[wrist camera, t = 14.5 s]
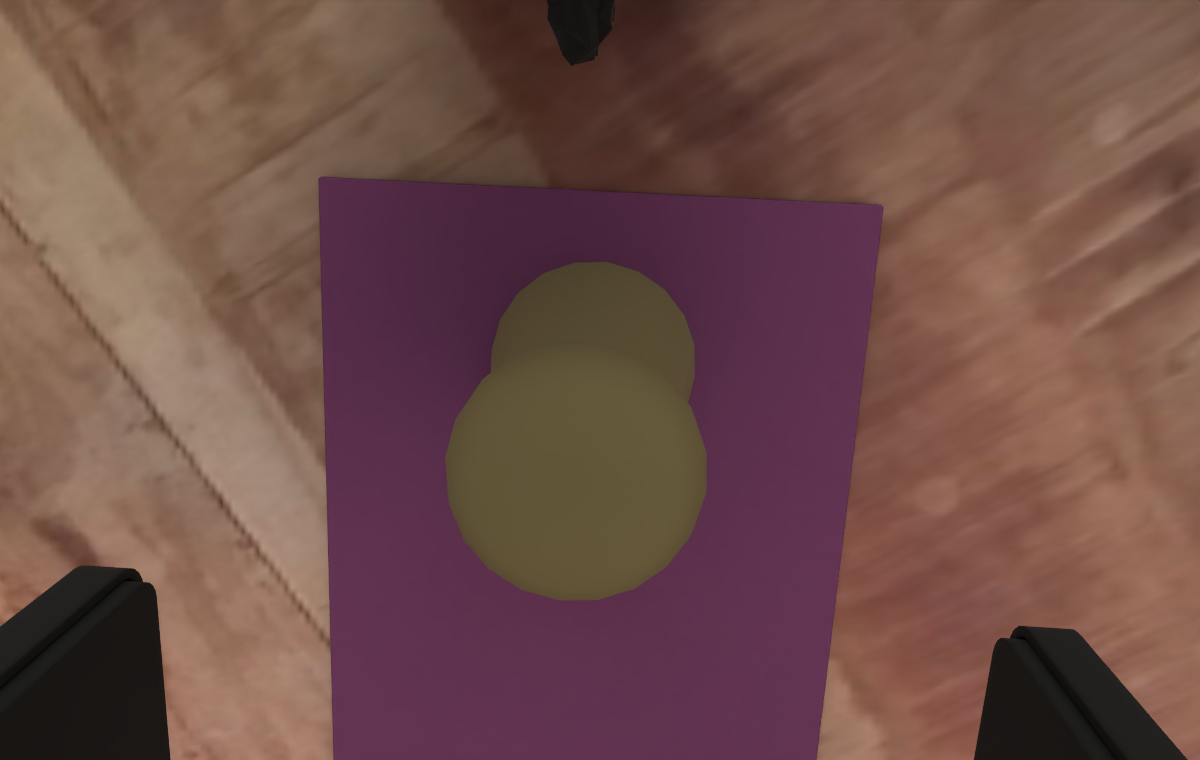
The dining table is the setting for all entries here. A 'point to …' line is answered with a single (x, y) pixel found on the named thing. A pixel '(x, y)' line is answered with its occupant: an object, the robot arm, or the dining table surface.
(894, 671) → the dining table surface
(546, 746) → the placemat
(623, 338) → the pepper mill
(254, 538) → the dining table surface
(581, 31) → the moka pot
